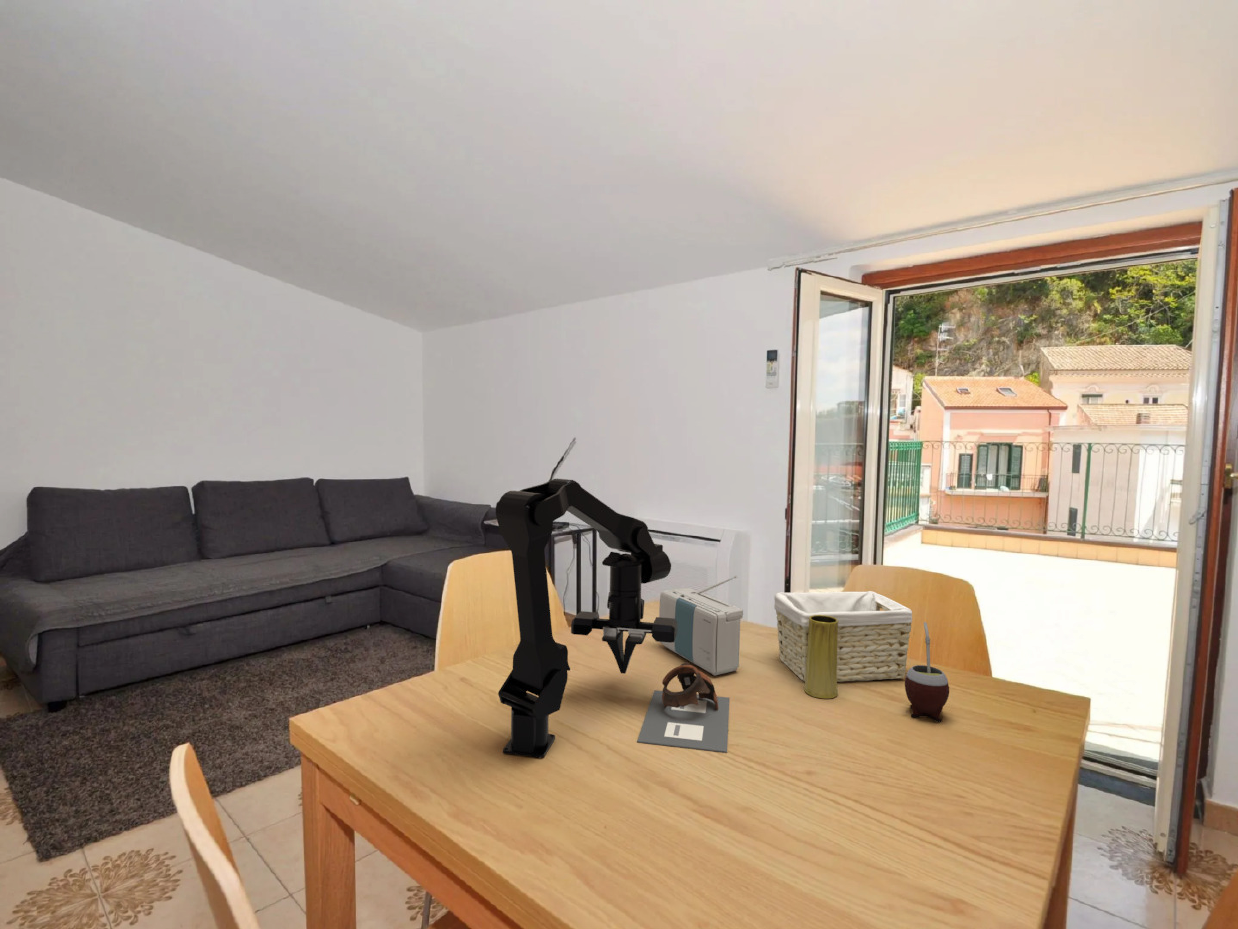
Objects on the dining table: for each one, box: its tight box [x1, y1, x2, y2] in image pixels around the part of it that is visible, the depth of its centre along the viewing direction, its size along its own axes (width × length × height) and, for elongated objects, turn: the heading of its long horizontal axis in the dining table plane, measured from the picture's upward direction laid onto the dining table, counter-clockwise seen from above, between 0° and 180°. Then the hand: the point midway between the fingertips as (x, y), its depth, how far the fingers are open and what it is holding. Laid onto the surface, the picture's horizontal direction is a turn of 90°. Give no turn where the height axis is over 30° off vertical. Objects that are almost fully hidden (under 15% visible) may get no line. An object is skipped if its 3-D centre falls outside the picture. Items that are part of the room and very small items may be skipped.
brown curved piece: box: [661, 661, 718, 710], centre depth 112 cm, size 12×10×8 cm
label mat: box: [636, 689, 730, 754], centre depth 107 cm, size 20×14×1 cm
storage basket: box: [773, 590, 913, 683], centre depth 131 cm, size 24×16×15 cm
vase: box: [803, 615, 838, 700], centre depth 119 cm, size 6×6×14 cm
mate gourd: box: [904, 621, 950, 724], centre depth 110 cm, size 8×8×15 cm
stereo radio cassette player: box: [658, 575, 744, 677], centre depth 135 cm, size 21×8×20 cm, turn 28°
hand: (623, 672), depth 114 cm, fingers closed
